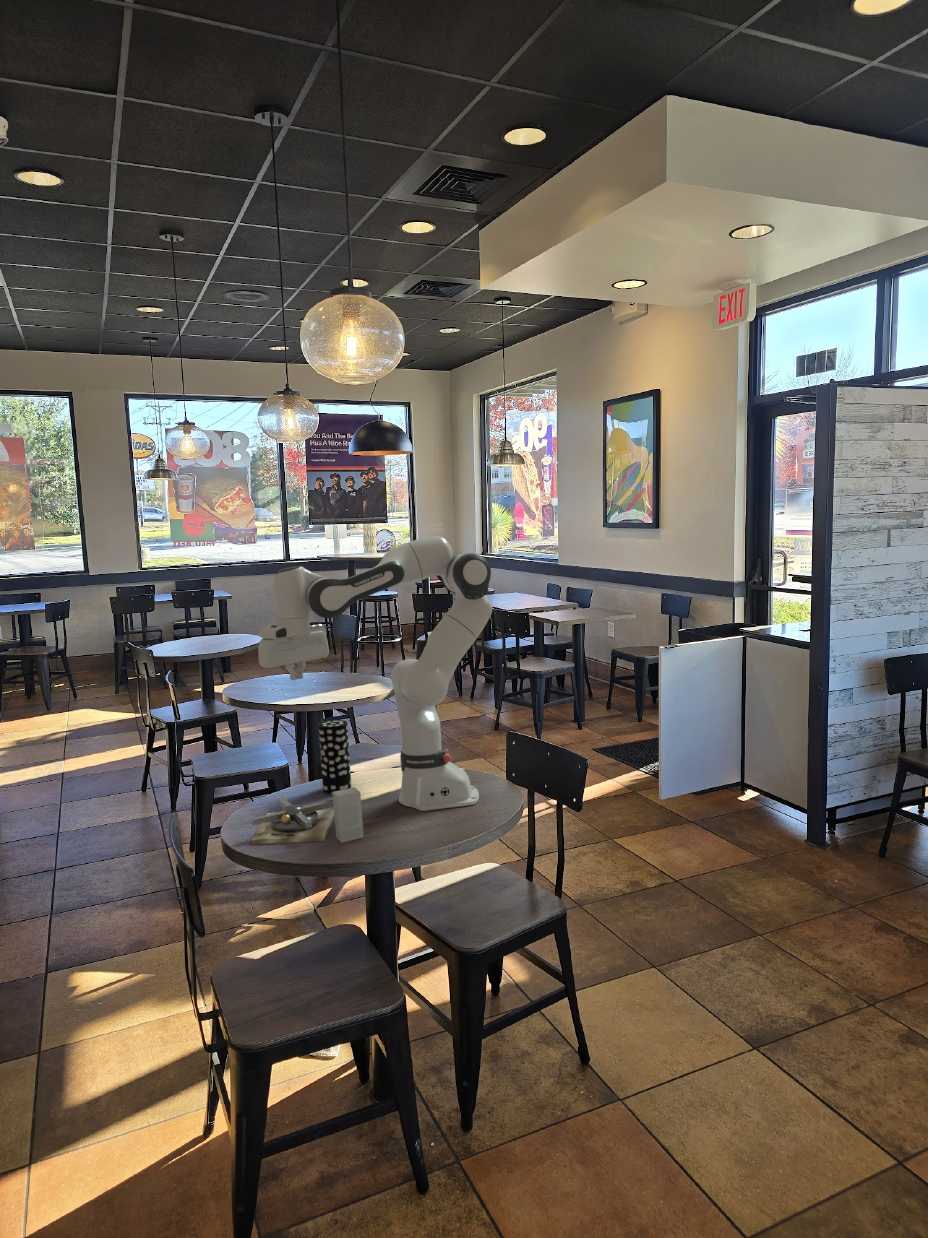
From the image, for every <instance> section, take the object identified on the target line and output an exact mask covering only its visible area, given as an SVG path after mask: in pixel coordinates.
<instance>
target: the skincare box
mask: <svg viewBox="0 0 928 1238" xmlns="http://www.w3.org/2000/svg"><path fill="white" fill-rule="evenodd" d="M361 797H362V796H361V791H360V790H358V789H357V788H356V787H354V786H353V787H351V788H350V789H345V790H340V791H335V792H333V794H332V800H333V804H334V807H333V810H334V824H335V825H334V826H335V837H336V839H337V840H338V841H339V842H340V843H346V842H347V843H348V842H351V841H355V840H358V839H363V838H364V837H365V836H364V825H363V824H364V823H363V809H362V799H361Z"/></svg>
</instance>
